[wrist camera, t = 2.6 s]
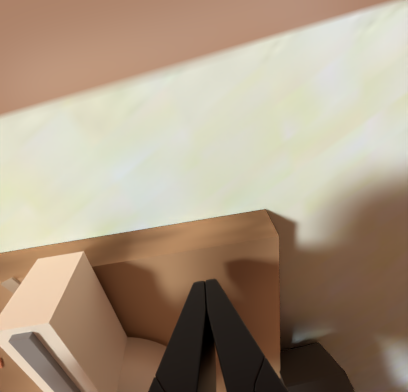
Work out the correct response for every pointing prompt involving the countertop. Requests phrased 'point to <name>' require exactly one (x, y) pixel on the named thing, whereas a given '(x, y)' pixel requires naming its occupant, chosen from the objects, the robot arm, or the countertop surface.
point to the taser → (312, 371)
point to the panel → (169, 279)
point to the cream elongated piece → (73, 332)
